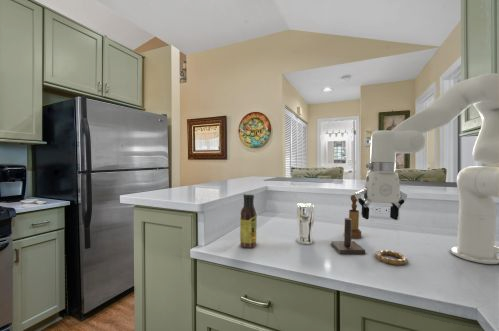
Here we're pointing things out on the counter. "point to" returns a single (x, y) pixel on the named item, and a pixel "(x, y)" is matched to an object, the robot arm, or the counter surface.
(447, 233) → the counter surface
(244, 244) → the sauce bottle
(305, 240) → the beer glass
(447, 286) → the counter surface
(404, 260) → the ring
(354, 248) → the peg stand
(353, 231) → the brown knobbed post
